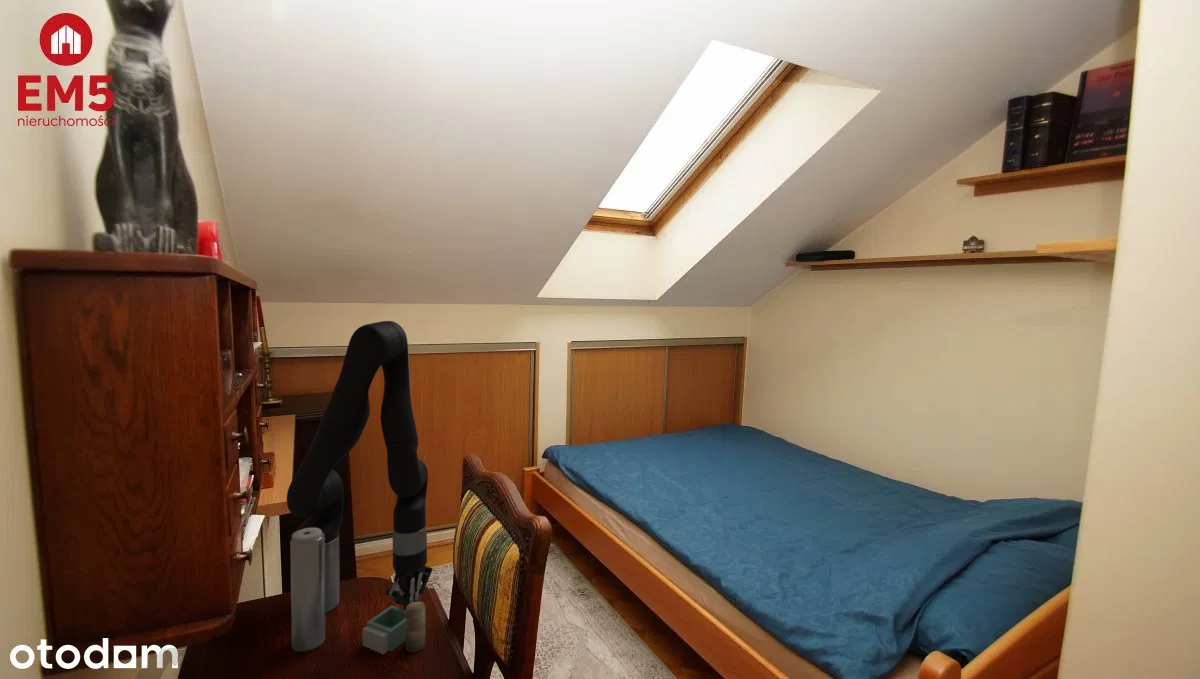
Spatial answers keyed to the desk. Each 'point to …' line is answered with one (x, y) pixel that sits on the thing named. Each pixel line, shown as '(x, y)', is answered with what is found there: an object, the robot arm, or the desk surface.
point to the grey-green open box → (391, 625)
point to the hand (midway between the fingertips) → (410, 616)
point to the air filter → (307, 589)
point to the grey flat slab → (375, 639)
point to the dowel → (415, 626)
